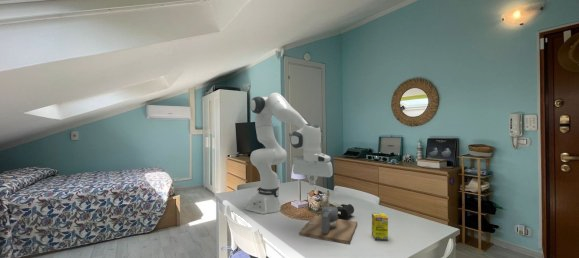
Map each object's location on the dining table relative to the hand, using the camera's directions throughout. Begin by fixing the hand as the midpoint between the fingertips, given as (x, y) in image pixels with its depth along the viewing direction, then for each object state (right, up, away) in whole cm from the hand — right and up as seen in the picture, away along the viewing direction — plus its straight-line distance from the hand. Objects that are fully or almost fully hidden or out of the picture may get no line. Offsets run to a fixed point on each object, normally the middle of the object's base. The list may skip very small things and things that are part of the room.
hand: (312, 184), depth 122 cm
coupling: (+8, -21, 0) cm, 23 cm away
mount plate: (+9, -24, +4) cm, 26 cm away
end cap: (+21, -24, +20) cm, 38 cm away
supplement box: (+31, -24, -6) cm, 40 cm away
